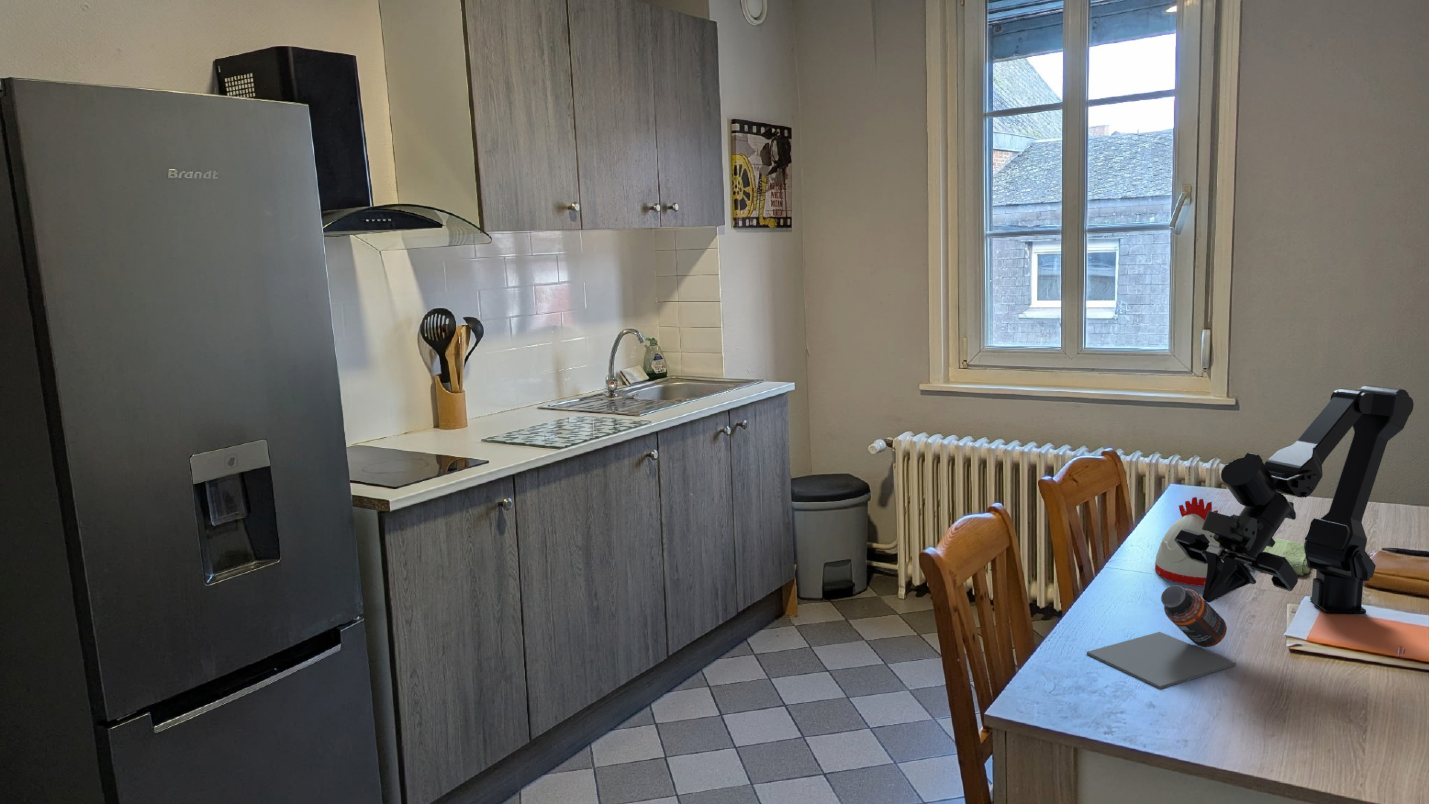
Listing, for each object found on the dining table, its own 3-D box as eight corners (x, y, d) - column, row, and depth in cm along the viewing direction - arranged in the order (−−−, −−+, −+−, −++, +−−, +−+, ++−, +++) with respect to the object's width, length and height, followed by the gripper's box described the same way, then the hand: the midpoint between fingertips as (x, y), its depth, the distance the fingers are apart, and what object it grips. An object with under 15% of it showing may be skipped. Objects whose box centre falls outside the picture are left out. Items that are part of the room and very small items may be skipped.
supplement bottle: (1222, 610, 160) (1186, 572, 155) (1233, 640, 155) (1197, 603, 150) (1186, 624, 163) (1150, 588, 158) (1196, 654, 158) (1159, 618, 153)
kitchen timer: (1198, 590, 183) (1202, 511, 180) (1139, 569, 195) (1141, 495, 193) (1251, 578, 188) (1256, 501, 186) (1191, 558, 201) (1194, 485, 198)
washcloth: (1318, 554, 201) (1319, 539, 200) (1307, 580, 187) (1308, 564, 186) (1246, 544, 209) (1247, 529, 208) (1229, 568, 195) (1230, 552, 194)
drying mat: (1159, 633, 164) (1159, 631, 164) (1235, 665, 151) (1235, 662, 151) (1086, 654, 157) (1086, 651, 157) (1160, 688, 145) (1160, 686, 145)
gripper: (1185, 481, 165) (1133, 555, 162) (1291, 506, 149) (1235, 589, 146) (1215, 520, 170) (1165, 593, 167) (1321, 549, 153) (1268, 631, 150)
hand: (1205, 600), depth 157 cm, fingers closed
